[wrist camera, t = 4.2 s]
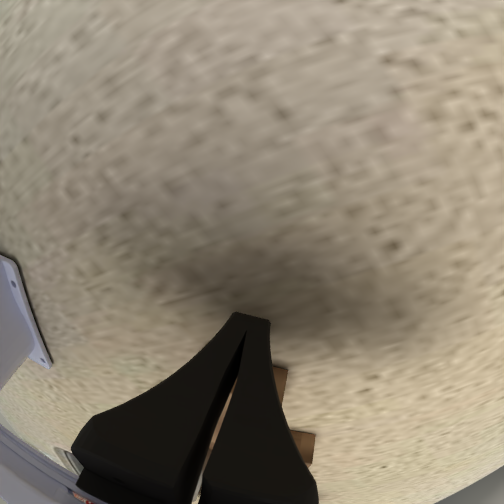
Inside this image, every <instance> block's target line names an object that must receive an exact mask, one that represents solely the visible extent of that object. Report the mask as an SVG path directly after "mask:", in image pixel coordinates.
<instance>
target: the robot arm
mask: <svg viewBox="0 0 504 504" xmlns="http://www.w3.org/2000/svg"><path fill="white" fill-rule="evenodd" d="M270 324H271V323H270V321H269V320H267V319H262V318H258V317H254V316H250V315H246V314H242V313H239V312H234V313H232V315H231V316H230V318H229V319H228V321H227V322H226V323H225V325H224V326H223V327H222V328H221V329H220V331H219V332H218V333H217V334H216V335H215V336H214V337H213V338H212V339H211V341H210V342H209V343H208V344H207V345H206V346H205V347H204V348H203V349H202V350H201V351H200V352H198V353H197V354H196V355H195V356H194V357H193V358H192V359H191V360H190V361H189V362H187V363H186V364H185V365H184V366H183V367H181V368H180V369H179V370H177V371H176V372H175V373H173V374H172V375H171V376H169V377H168V378H167V379H165V380H164V381H162V382H161V383H159V384H158V385H156V386H155V387H153V388H151V389H150V390H148V391H146V392H145V393H143V394H141V395H139V396H137V397H135V398H133V399H131V400H129V401H127V402H125V403H124V404H121V405H119V406H117V407H114V408H112V409H110V410H107V411H105V412H102V413H100V414H97V415H94V416H93V417H92V418H91V419H90V420H89V421H88V422H87V423H86V425H85V426H84V427H83V428H82V430H81V431H80V433H79V434H78V436H77V438H76V439H75V441H74V443H73V445H72V446H71V451H72V453H73V455H74V456H75V457H76V458H77V460H78V461H79V462H80V463H81V464H82V466H83V467H84V469H83V471H82V473H81V474H80V476H78V475H76V474H74V473H72V472H71V471H69V470H67V469H65V468H64V467H62V466H60V465H59V464H57V463H56V462H54V461H52V460H51V459H49V458H48V457H46V456H44V455H43V454H41V453H40V452H38V451H37V450H35V449H34V448H32V447H31V446H29V445H28V444H27V443H25V442H24V441H22V440H21V439H20V438H18V437H17V436H15V435H14V434H13V433H11V432H10V431H9V430H7V429H6V428H5V427H4V426H2V425H1V424H0V497H1V498H2V499H3V500H4V501H5V502H6V503H8V504H86V503H84V502H82V501H81V500H79V499H77V498H76V497H74V494H73V493H75V494H77V495H79V496H80V497H82V498H84V499H86V500H88V501H90V502H92V503H94V504H191V503H192V500H193V497H194V494H195V490H196V487H197V484H198V481H199V478H200V475H201V471H202V468H203V465H204V462H205V459H206V456H207V453H208V449H209V446H210V443H211V440H212V437H213V434H214V431H215V428H216V426H217V423H218V421H219V418H220V416H221V414H222V411H223V409H224V407H225V404H226V402H227V400H228V397H229V395H230V393H231V390H232V388H233V386H234V383H235V381H236V379H237V382H236V385H235V388H234V391H233V394H232V396H231V399H230V402H229V405H228V408H227V411H226V414H225V417H224V419H223V422H222V425H221V428H220V430H219V433H218V436H217V438H216V441H215V444H214V446H213V449H212V452H211V454H210V457H209V459H208V462H207V464H206V467H205V469H204V472H203V474H202V489H201V496H200V499H199V502H198V504H319V499H318V491H317V485H316V481H315V479H314V478H313V476H312V474H311V473H310V471H309V469H308V467H307V466H306V464H305V462H304V460H303V458H302V456H301V454H300V452H299V450H298V448H297V446H296V443H295V441H294V439H293V436H292V434H291V431H290V429H289V427H288V424H287V421H286V418H285V415H284V413H283V409H282V406H281V403H280V399H279V396H278V392H277V388H276V383H275V378H274V373H273V367H272V360H271V352H270ZM27 357H28V358H30V359H31V360H33V361H35V362H36V363H38V364H40V365H41V366H43V367H45V368H47V369H50V368H51V367H52V363H51V360H50V358H49V356H48V353H47V351H46V349H45V346H44V344H43V341H42V339H41V336H40V334H39V331H38V328H37V326H36V323H35V320H34V318H33V315H32V312H31V309H30V306H29V303H28V300H27V297H26V294H25V291H24V288H23V284H22V281H21V278H20V274H19V270H18V267H17V265H16V264H15V262H14V261H12V260H10V259H8V258H6V257H4V256H2V255H0V391H1V389H2V388H3V387H4V386H5V384H6V383H7V382H8V380H9V379H10V378H11V377H12V375H13V374H14V373H15V372H16V371H17V369H18V368H19V367H20V366H21V364H22V363H23V362H24V361H25V360H26V358H27ZM237 376H238V377H237ZM71 491H72V492H71Z"/></svg>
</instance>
